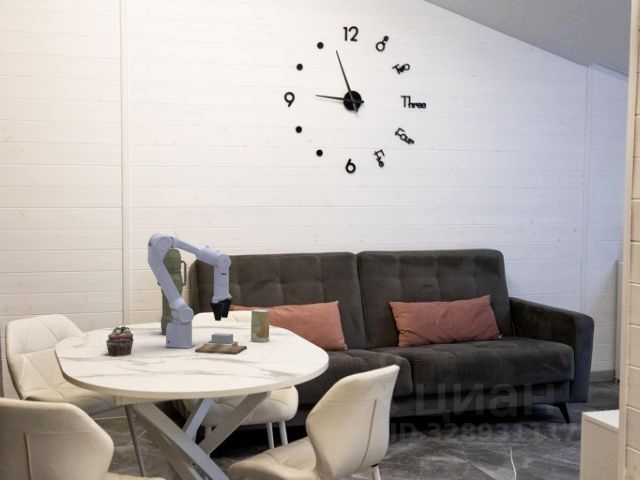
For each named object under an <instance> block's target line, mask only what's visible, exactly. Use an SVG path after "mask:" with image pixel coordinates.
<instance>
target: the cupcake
mask: <svg viewBox="0 0 640 480" xmlns="http://www.w3.org/2000/svg"><path fill="white" fill-rule="evenodd" d="M107 337H108V339H107V340H105V343H106V349H107V353H108V355H109V356H111V357H123V356H129V355H131V353H132V349H133V345H134V338H133V337H134V334H133V333H132V332H131V329H130V327H127V326H125V325H123V326H121V327H120V326H115V328H114V329H113V330H112V332H110V333H109V334H108V336H107Z"/></svg>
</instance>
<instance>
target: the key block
mask: <svg viewBox="0 0 640 480" xmlns="http://www.w3.org/2000/svg"><path fill="white" fill-rule="evenodd" d="M211 340H212V343H215V344H231V343H233V341H234V334H233V333H221V332H220V333H219V332H215V333H212V334H211Z"/></svg>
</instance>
